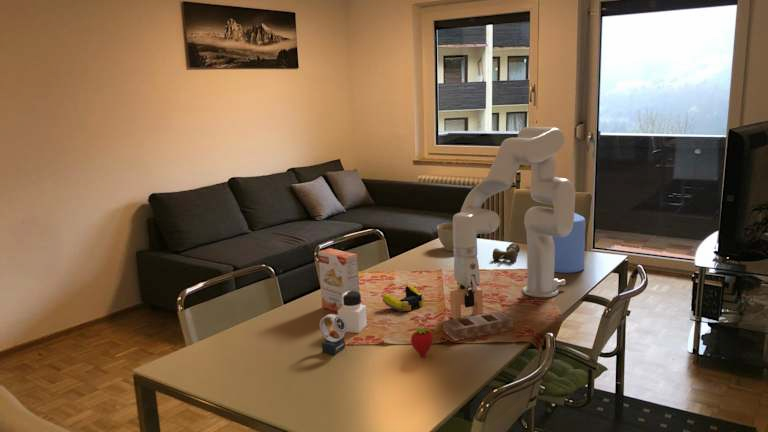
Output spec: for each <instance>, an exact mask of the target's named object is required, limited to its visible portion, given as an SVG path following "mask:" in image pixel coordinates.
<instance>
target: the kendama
mask: <svg viewBox="0 0 768 432" xmlns="http://www.w3.org/2000/svg"><path fill="white" fill-rule="evenodd" d="M520 249H521V248H520V246H519V244H518V243H515V242H513V243H510V244H509V246H507V247H506V250H505V251H503V250H501V249H499V248H494V249H493V251H492V260H493V262H497V261H500V260H507V261H509V262H511V263H512V264H515V263H516V262H517V259H518V254H519V253H520Z"/></svg>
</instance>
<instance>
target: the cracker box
mask: <svg viewBox="0 0 768 432" xmlns="http://www.w3.org/2000/svg"><path fill="white" fill-rule="evenodd" d="M317 253H318V266H319V278H320V280H319V281H320V292H321V293H320V295H321V307H322V308H323V309H326V310H327V309H328V310H330V311H333V312H336V313H338V310H339V309H340V308H341V307H342V294H343V293H345V292H348V291H356V292H359V293H360V281H359V278H360V277H359V264H358V263H359V262H358V254H357V253H353V252H347V251H343V250H339V249H335V248H331V247H329V248H326V249H322V250H319V251H318V252H317Z"/></svg>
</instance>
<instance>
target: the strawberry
mask: <svg viewBox="0 0 768 432" xmlns="http://www.w3.org/2000/svg"><path fill="white" fill-rule="evenodd" d="M418 324H419V325H421V323H420V322H419V323H418ZM427 328H428V326H426V327H422V328H419V327H417V328H416V327H413V329H414V330H416V331H415V332H413V334H412V335H411V337H410V341H411V342H410V343H411V346H412V348H413V349H414V350H415V351H416V352H417V353H418V355H419V356H420V357H422V358H424V357H426V355H427V353H428V352H429V350H430V348H431V346H432V344H433V334H432V331H431V330H430V329H427Z"/></svg>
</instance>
